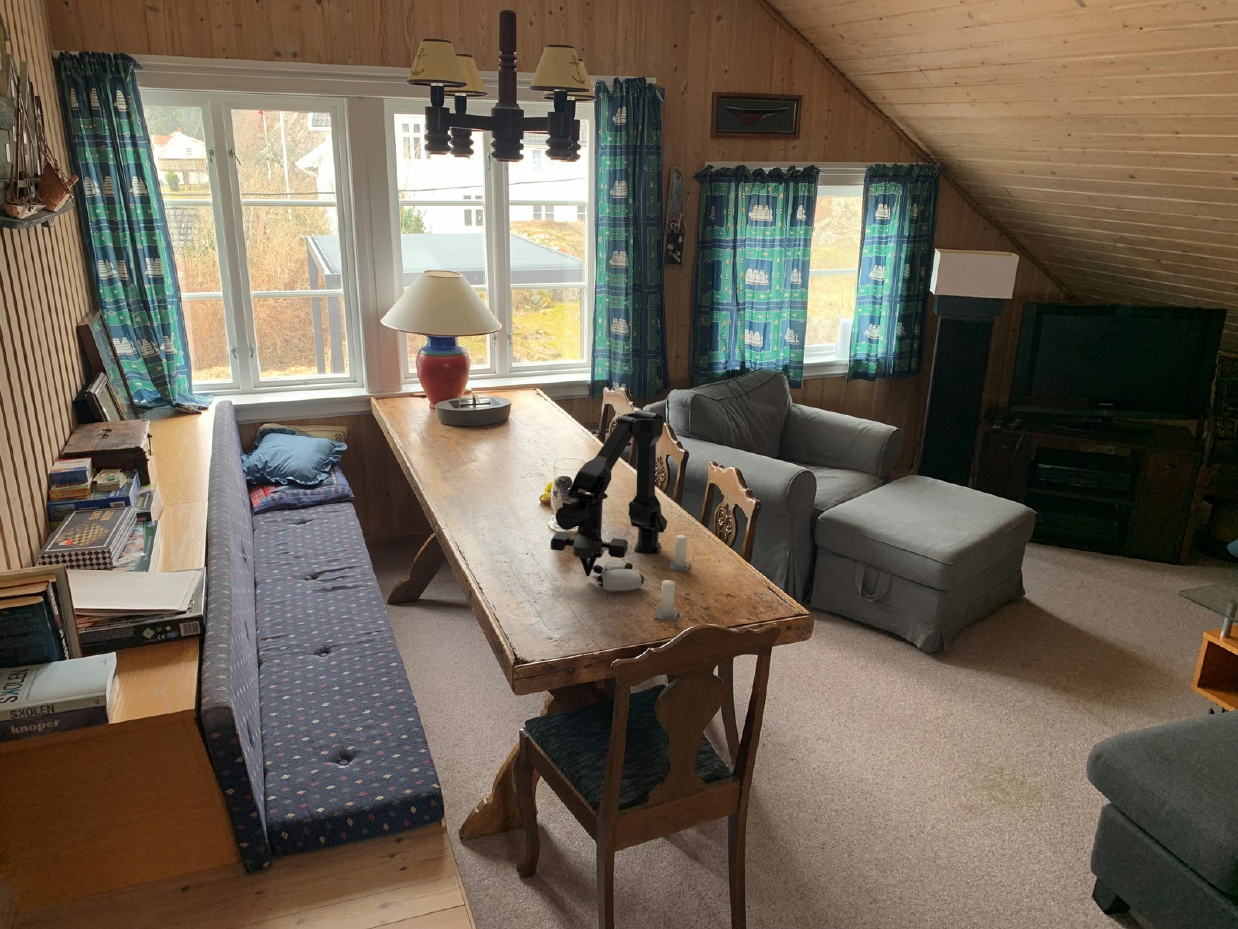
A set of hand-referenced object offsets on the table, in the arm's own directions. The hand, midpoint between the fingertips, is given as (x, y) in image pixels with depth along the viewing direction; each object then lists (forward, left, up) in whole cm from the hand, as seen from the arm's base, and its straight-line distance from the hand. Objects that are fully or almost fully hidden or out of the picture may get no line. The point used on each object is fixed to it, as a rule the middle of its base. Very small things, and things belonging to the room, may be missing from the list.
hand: (588, 575), depth 225 cm
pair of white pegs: (0, +22, -1) cm, 22 cm away
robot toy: (0, +8, -2) cm, 8 cm away
